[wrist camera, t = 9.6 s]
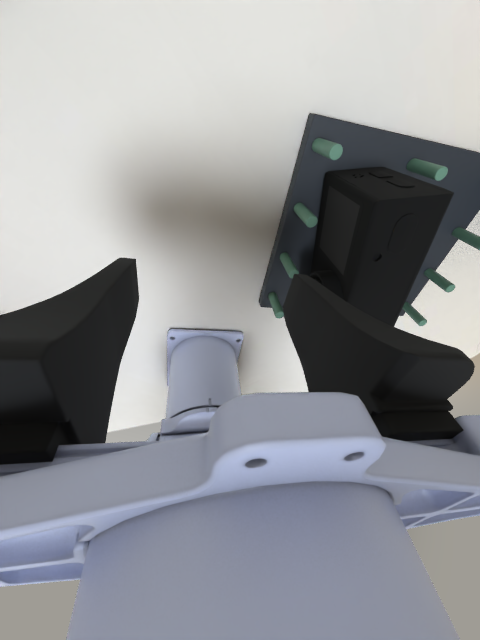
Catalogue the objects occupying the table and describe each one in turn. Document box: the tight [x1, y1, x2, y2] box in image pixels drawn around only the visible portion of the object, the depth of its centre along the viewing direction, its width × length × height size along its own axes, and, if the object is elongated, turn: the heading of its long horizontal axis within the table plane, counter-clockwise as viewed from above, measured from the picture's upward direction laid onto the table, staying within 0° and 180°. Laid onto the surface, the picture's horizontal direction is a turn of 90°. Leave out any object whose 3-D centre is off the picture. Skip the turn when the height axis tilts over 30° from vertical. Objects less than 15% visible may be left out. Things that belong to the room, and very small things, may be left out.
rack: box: [259, 113, 480, 326], centre depth 22 cm, size 15×16×4 cm
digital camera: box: [309, 167, 454, 327], centre depth 19 cm, size 10×5×7 cm, turn 3°
